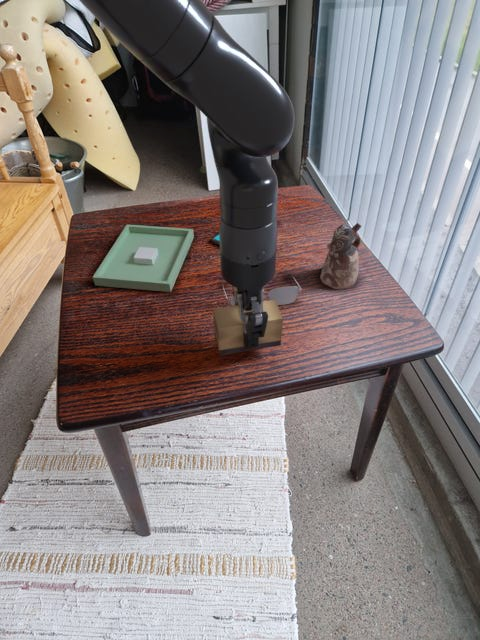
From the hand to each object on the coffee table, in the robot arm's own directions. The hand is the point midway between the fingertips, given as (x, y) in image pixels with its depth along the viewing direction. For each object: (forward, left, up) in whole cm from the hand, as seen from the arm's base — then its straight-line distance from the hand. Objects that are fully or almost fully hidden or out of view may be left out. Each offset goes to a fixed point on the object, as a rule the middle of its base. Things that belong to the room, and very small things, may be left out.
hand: (247, 334), depth 67 cm
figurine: (+15, +22, -4) cm, 27 cm away
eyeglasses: (0, +15, -4) cm, 16 cm away
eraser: (0, 0, -1) cm, 1 cm away
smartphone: (-6, +36, -4) cm, 37 cm away
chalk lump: (-25, +23, -4) cm, 34 cm away
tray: (-25, +23, -4) cm, 34 cm away
